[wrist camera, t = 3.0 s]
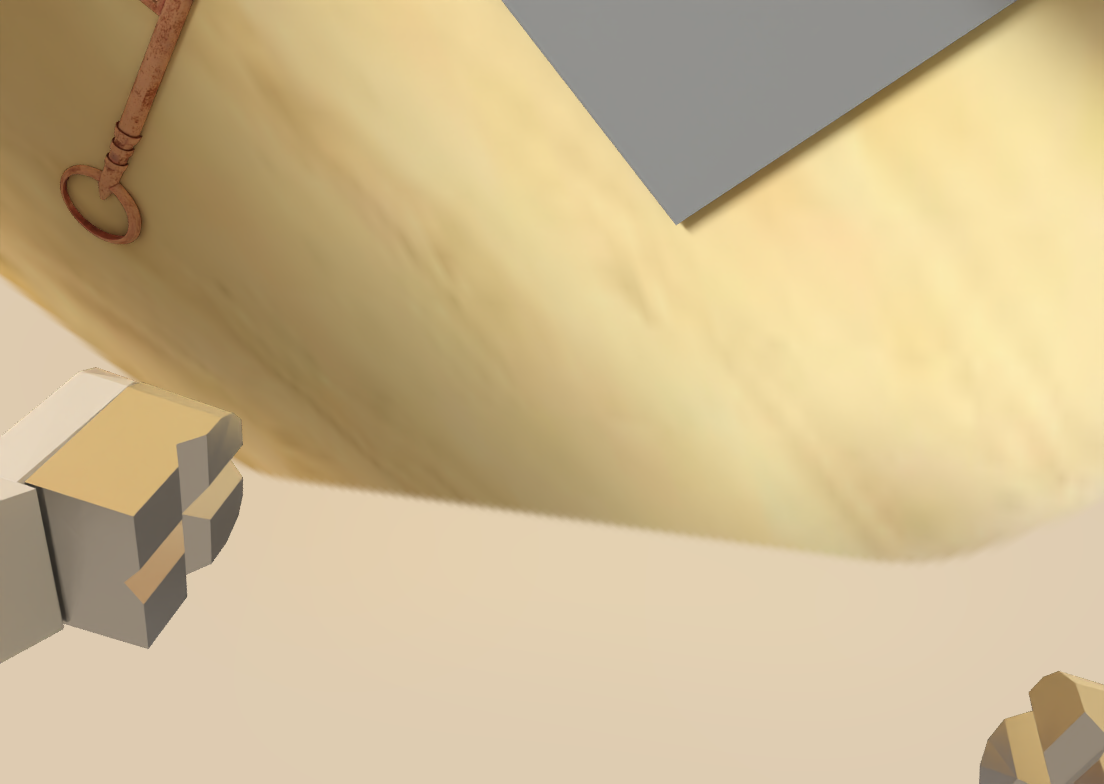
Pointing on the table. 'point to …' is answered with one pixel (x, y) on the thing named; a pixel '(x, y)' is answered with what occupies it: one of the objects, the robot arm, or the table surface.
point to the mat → (731, 75)
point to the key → (133, 120)
